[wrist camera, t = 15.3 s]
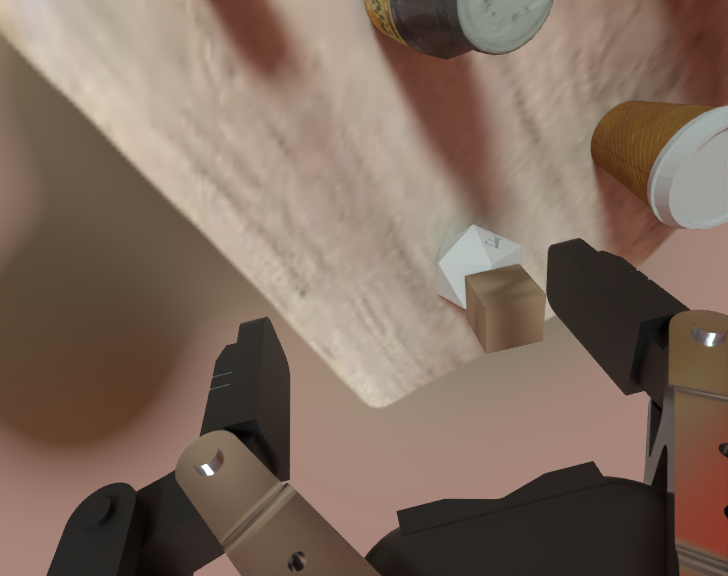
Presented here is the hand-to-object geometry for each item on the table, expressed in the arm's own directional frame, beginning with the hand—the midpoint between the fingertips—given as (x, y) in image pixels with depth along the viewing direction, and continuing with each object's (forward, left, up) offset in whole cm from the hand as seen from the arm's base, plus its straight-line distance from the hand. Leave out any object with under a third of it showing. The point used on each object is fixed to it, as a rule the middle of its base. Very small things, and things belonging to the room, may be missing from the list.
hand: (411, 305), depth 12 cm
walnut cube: (-11, +17, -22) cm, 30 cm away
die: (-11, +17, -29) cm, 36 cm away
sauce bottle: (-7, -7, -29) cm, 31 cm away
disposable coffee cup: (-27, +8, -29) cm, 41 cm away
